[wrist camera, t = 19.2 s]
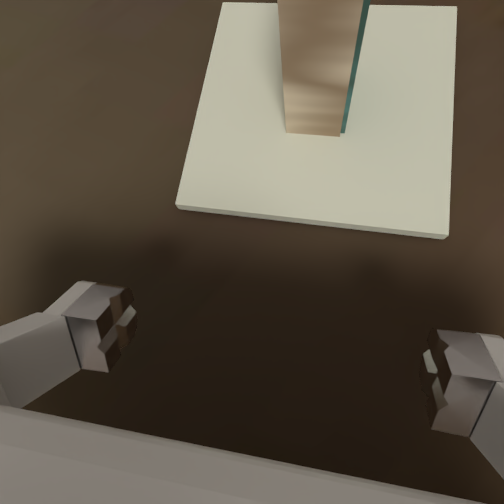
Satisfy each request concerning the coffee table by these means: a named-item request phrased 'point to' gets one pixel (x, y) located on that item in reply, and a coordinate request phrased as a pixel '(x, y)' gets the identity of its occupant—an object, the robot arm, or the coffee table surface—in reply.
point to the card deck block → (320, 62)
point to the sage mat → (329, 147)
